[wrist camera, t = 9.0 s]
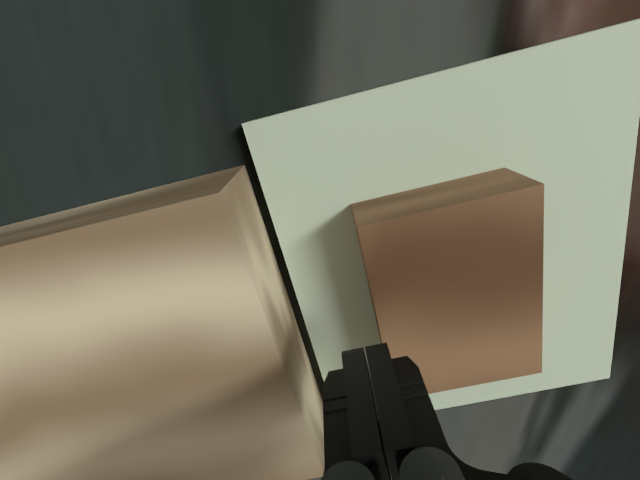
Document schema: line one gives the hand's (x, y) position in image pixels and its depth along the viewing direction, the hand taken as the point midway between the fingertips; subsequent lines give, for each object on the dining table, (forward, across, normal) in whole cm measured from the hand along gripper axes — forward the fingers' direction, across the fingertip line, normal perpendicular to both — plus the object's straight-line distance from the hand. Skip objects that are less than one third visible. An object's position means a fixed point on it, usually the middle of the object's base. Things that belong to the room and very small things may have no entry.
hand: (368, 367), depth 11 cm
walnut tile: (+3, -4, 0) cm, 5 cm away
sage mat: (+5, -4, 0) cm, 7 cm away
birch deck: (+5, +12, 0) cm, 13 cm away
